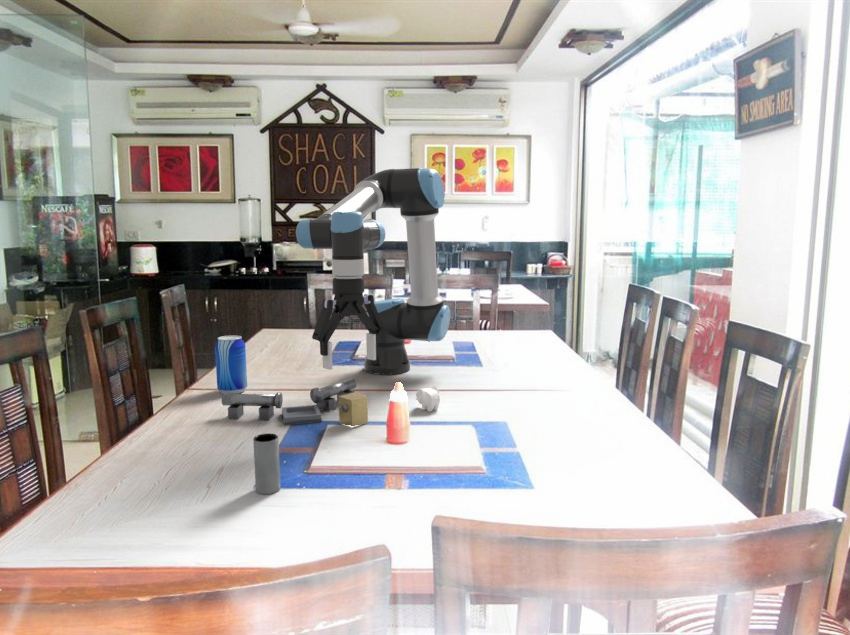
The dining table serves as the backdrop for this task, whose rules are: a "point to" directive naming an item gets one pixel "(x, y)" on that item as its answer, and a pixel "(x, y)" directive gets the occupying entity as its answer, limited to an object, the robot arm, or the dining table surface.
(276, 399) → the shaft
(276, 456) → the grey hollow tube
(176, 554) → the dining table surface
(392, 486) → the dining table surface
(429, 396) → the elephant figurine
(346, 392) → the shaft
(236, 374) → the beer can
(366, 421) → the block
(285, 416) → the grey square tray
